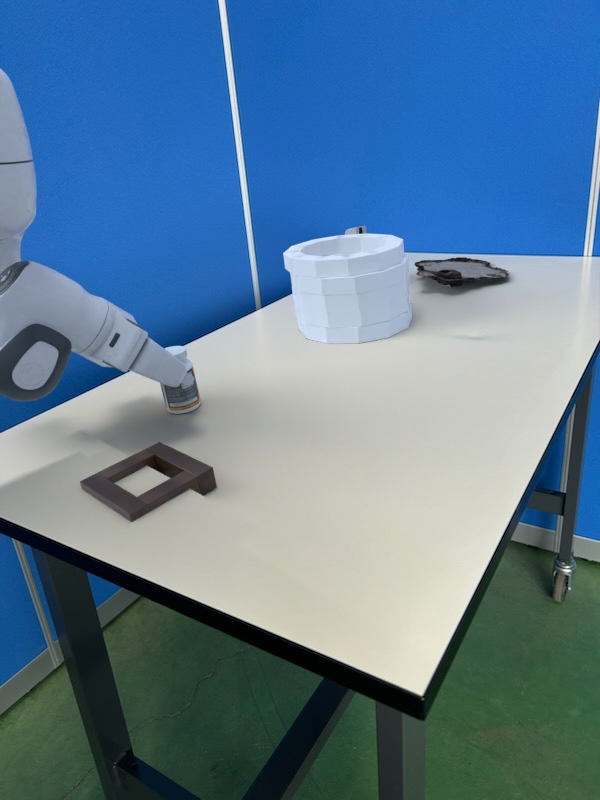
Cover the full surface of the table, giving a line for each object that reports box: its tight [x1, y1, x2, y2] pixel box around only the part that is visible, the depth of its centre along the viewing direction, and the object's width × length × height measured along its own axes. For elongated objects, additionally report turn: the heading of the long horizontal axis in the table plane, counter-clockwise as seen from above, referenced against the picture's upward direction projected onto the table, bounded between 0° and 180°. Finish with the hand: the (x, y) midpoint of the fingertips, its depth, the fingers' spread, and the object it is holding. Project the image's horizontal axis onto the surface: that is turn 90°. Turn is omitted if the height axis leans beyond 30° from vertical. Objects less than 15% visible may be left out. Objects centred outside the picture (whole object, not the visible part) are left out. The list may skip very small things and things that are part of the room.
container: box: [282, 232, 413, 345], centre depth 127 cm, size 25×24×16 cm
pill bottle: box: [159, 345, 201, 415], centre depth 100 cm, size 6×6×10 cm
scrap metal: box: [414, 256, 510, 289], centre depth 151 cm, size 23×4×30 cm
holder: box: [79, 441, 218, 523], centre depth 78 cm, size 12×12×3 cm
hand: (181, 375), depth 100 cm, fingers closed on pill bottle, 6 cm apart
